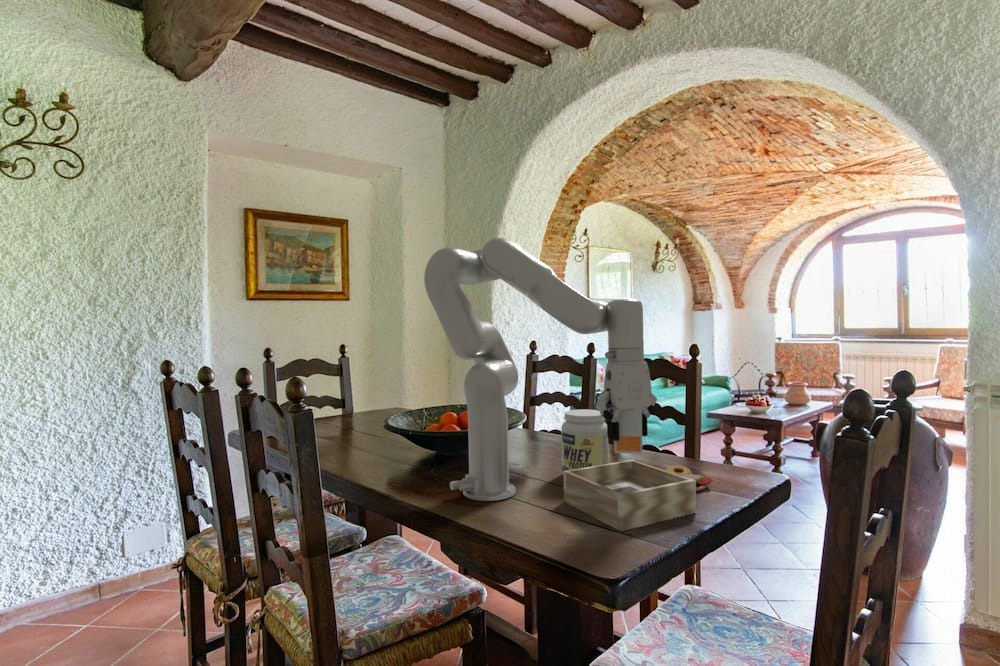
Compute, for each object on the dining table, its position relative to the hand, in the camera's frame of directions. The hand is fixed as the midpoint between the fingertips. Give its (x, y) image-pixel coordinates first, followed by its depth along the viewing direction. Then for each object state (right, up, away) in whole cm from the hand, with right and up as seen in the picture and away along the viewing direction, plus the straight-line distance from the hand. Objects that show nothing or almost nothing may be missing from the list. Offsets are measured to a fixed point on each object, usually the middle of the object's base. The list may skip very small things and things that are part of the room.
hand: (627, 436), depth 121 cm
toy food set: (+17, -15, +16) cm, 28 cm away
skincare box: (0, -3, 0) cm, 3 cm away
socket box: (0, -15, 0) cm, 15 cm away
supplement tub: (-5, -15, +25) cm, 29 cm away
